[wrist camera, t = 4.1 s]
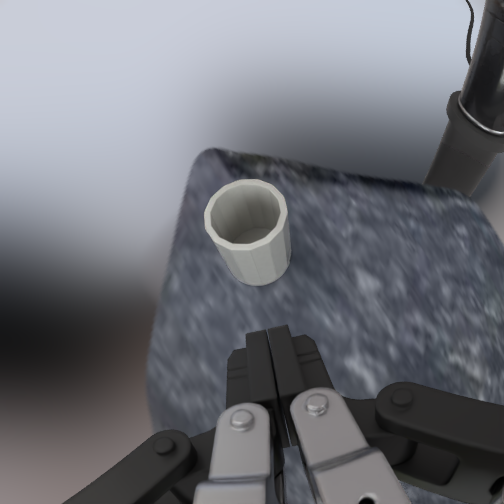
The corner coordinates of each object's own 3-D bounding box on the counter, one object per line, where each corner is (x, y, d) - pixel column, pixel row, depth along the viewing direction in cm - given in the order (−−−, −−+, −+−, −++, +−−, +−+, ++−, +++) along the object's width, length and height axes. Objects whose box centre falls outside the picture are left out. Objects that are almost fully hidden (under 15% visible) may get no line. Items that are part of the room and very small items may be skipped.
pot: (247, 217, 31) (232, 169, 24) (302, 242, 29) (302, 196, 22) (214, 267, 29) (188, 228, 22) (271, 297, 27) (260, 264, 20)
